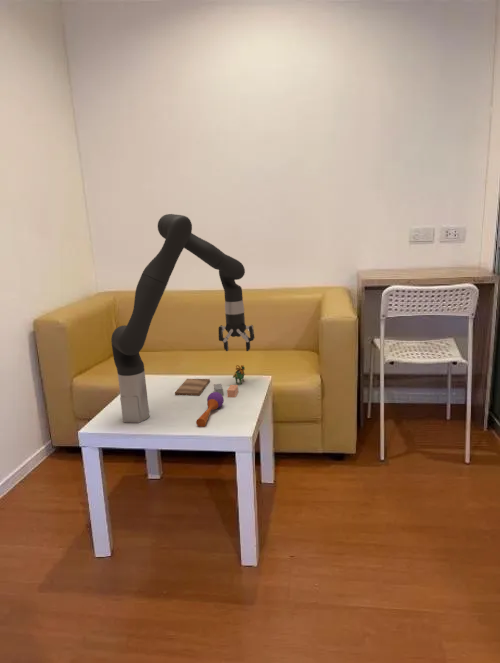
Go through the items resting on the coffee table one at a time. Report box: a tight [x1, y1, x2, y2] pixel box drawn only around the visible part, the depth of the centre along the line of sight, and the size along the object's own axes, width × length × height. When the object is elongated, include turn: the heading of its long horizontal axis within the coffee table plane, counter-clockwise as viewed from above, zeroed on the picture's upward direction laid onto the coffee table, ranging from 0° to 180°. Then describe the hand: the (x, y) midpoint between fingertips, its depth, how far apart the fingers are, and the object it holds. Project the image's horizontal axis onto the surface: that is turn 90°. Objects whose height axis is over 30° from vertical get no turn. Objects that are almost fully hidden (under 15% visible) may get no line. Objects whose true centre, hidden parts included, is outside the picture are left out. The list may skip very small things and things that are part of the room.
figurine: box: [232, 364, 246, 385], centre depth 213 cm, size 3×12×8 cm, turn 158°
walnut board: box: [174, 378, 211, 397], centre depth 211 cm, size 16×10×1 cm, turn 169°
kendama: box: [195, 391, 225, 428], centre depth 183 cm, size 6×6×20 cm
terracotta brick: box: [226, 384, 239, 398], centre depth 202 cm, size 6×3×3 cm, turn 169°
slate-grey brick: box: [213, 383, 224, 397], centre depth 204 cm, size 6×3×3 cm, turn 9°
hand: (237, 350), depth 210 cm, fingers open, 8 cm apart
